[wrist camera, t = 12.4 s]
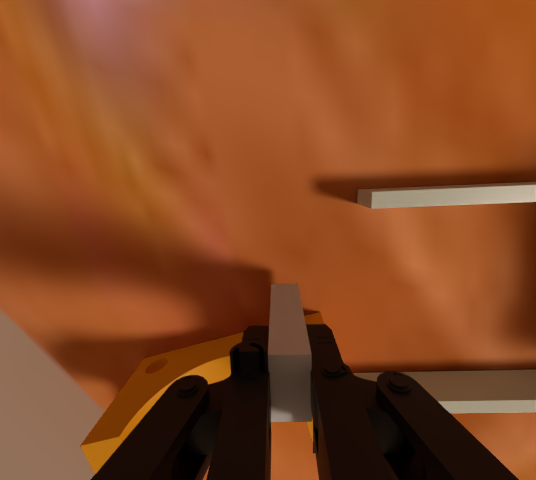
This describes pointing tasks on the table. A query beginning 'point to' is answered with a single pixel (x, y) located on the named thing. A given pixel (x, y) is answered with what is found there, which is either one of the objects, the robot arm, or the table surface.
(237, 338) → the pipe clamp
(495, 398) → the frame
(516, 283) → the table surface
